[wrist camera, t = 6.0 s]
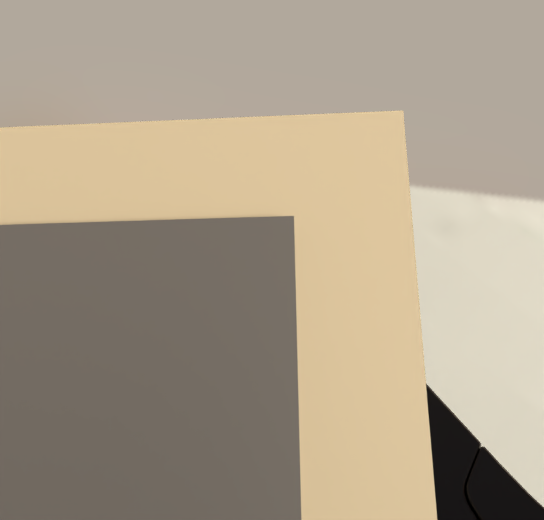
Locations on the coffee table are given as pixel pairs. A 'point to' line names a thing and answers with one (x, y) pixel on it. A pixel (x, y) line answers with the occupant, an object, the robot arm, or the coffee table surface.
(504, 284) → the coffee table surface
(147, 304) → the kraft box
